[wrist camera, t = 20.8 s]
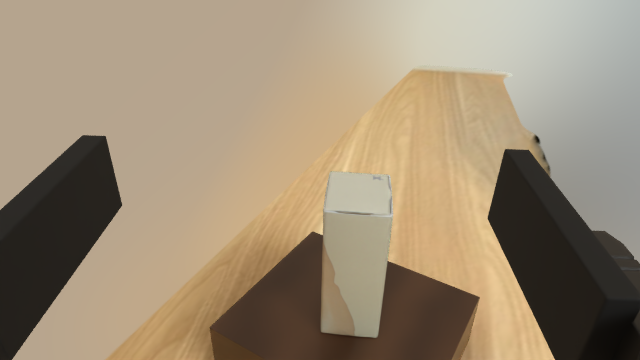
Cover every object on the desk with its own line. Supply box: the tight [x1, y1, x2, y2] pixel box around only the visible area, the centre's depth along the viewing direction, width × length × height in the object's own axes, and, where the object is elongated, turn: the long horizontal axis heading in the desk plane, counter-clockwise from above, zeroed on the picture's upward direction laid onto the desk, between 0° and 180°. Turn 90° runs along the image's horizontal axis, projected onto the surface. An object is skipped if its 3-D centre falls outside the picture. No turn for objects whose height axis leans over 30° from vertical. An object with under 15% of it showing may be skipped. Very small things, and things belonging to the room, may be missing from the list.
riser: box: [210, 232, 480, 360], centre depth 37 cm, size 16×14×5 cm
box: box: [321, 171, 393, 338], centre depth 33 cm, size 5×4×11 cm
